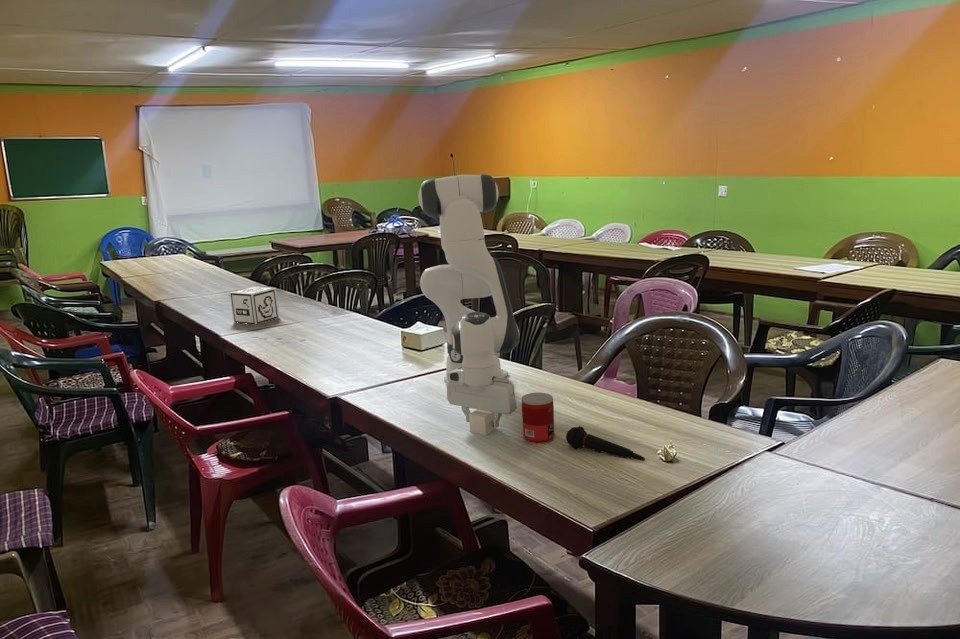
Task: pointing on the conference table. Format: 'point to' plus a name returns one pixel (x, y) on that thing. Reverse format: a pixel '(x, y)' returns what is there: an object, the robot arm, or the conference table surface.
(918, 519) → the conference table surface
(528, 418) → the canned food
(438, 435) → the conference table surface
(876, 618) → the conference table surface
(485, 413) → the cream cube
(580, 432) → the microphone
